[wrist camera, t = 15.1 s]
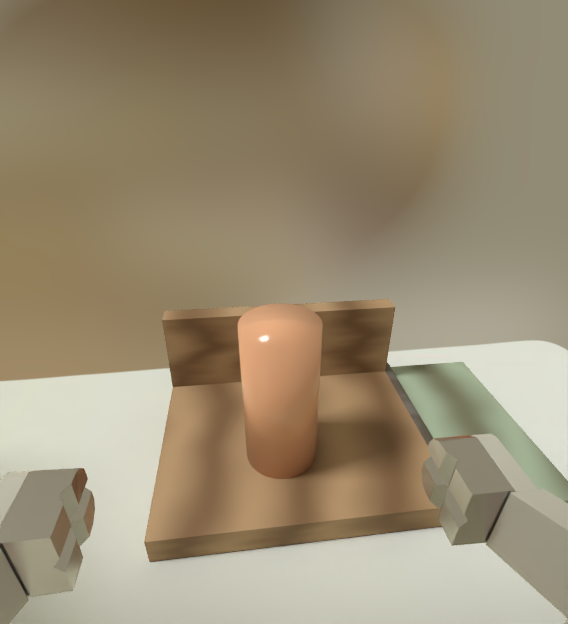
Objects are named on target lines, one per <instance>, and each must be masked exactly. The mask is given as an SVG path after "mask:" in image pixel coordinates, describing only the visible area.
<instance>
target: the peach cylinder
mask: <svg viewBox="0 0 568 624" xmlns="http://www.w3.org/2000/svg"><path fill="white" fill-rule="evenodd" d="M322 327H323V325H322V320H321V318H320V317H319V316H318V315H317V314H316V313H315V312H313V311H312V310H310V309H307V308H305V307H302V306H298V305H293V304H268V305H263V306H259V307H256V308H254V309H251V310H249V311H248V312H246V313H245V314H244V315H242V317H241V318H240V319H239V321H238V340H239V354H240V368H241V382H242V396H243V410H244V423H245V437H246V451H247V458H248V461H249V463H250V464H251V466H252V467H253V468H254V469H255V470H256V471H257V472H259V473H260V474H262V475H264V476H267V477H270V478H274V479H288V478H293V477H296V476H298V475H300V474H302V473H304V472H305V471H306V470H308V469H309V467H310V466H311V465H312V464H313V462H314V460H315V457H316V446H317V426H318V406H319V386H320V366H321V347H322Z"/></svg>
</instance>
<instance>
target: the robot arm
mask: <svg viewBox="0 0 568 624" xmlns="http://www.w3.org/2000/svg"><path fill="white" fill-rule="evenodd" d="M427 450H428V452H429V453H430V455H431V456H430V457H429V458H428V459H426V460H425V461H424V463H423V467H422V471H421V473H422V483H423V487H424V490H425V493H426V495H427V497H428V499H429V501H430V502H431V503H432V504H434V505H435V506H436V507H438V508H439V509H440V512H439V517H438V519H439V521H440V523H441V525H442V527H443V529H444V531H445V533H446V535H447V537H448V539H449V541H450V543H451V545H452V546H453V545H464V544H476V543H487V544H486V545H487V546H488V547H489V548H490V549H492V550H493V551H494V552H495V553H496V554H497V555H498V556H499V557H500V558H502V559H503V560H504V561H505V562H506V563H507V564H508V565H509V566H510V567H512V568H513V569H514V570H515V571H516V572H517V573H518V574H519V575H520V576H521V577H523V578H524V579H525V580H526V581H527V582H528V583H529V584H530V585H531V586H533V587H534V588H535V589H536V590H537V591H538V592H539V593H540V594H541V595H543V596H544V597H545V598H546V599H547V600H548V601H549V602H550V603H551V604H552V605H554V606H555V607H556V608H557V609H558V610H559V611H560V612H561V613H562V614H564V615H565V616H566V617H567V618H568V503H566V502H565V501H563V500H561V499H560V498H558V497H556V496H555V495H553V494H552V493H550V492H548V491H547V490H545V489H537V487H536V486H535V485H534V484H533V482H532V481H531V480H530V479H529V477H528V476H527V475H526V473H525V472H524V471H523V470H522V468H521V467H520V466H519V465H518V463H517V462H516V461H515V460H514V458H513V457H512V456H511V454H510V453H509V452H508V451H507V449H506V448H505V447H504V446H503V444H502V443H501V442H500V441H499V439H498V438H497V437H496V436H494V435H493V434H480V435H471V436H470V435H465V436H454V437H444V438H434V439H432V440H431V441H430V442H429V446H428V449H427ZM87 479H88V478H87V475H86V473H85V470H84V469H83V468H76V469H58V470H41V471H27V472H12V473H7V474H6V475H5V476H3V477H2V478H1V479H0V624H9V623H10V622H11V620H12V619H13V618H14V617H15V616H16V614H17V613H18V612H19V611H20V610H21V608H22V607H23V606H24V605H25V604H26V602H27V601H28V598H27V597H34V596H40V595H47V594H54V593H61V592H67V591H73V589H74V585H75V582H76V579H77V576H78V572H79V569H80V566H81V563H82V559H83V556H82V553H81V550H80V546H81V545H82V544H83V543H84V542H85V541H86V539H87V538H88V537H89V536H90V533H91V529H92V525H93V520H94V511H95V506H94V498H93V494H92V492H91V491H90V490H88V489H87V488H85V485H86V482H87ZM564 624H568V619H567V621H566V622H565V623H564Z"/></svg>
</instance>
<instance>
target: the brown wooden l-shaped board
mask: <svg viewBox="0 0 568 624" xmlns="http://www.w3.org/2000/svg"><path fill="white" fill-rule="evenodd" d="M293 305H298V306H302V307H305V308H307V309H310V310H312V311H313V312H315V313H316V314H317V315H318V316H319V317H320V318H321V320H322V325H323V327H322V347H321V366H320V386H319V406H318V426H317V446H316V457H315V460H314V462H313V464H312V465H311V466H310V467H309V469H308V470H306V471H305V472H304V473H302V474H300V475H298V476H296V477H293V478H288V479H274V478H270V477H267V476H264V475H262V474H260V473H259V472H257V471H256V470H255V469H254V468H253V467H252V466H251V464H250V463H249V461H248V458H247V451H246V437H245V423H244V410H243V396H242V382H241V368H240V354H239V340H238V321H239V319H240V318H241V317H242V315H244V314H245V313H246V312H248V311H249V310H251V309H254V308H256V307H259V306H250V307H232V308H212V309H193V310H175V311H165V312H164V315H163V319H162V323H163V328H164V335H165V341H166V347H167V353H168V359H169V366H170V372H171V378H172V384H173V390H172V395H171V401H170V406H169V411H168V417H167V422H166V428H165V433H164V438H163V444H162V449H161V455H160V460H159V466H158V471H157V476H156V482H155V487H154V493H153V498H152V503H151V509H150V514H149V520H148V525H147V531H146V536H145V541H144V543H145V547H146V550H147V554H148V558H149V561H150V562H152V561H160V560H168V559H176V558H184V557H193V556H201V555H209V554H217V553H225V552H234V551H242V550H250V549H258V548H267V547H275V546H283V545H291V544H299V543H308V542H316V541H324V540H332V539H340V538H349V537H357V536H365V535H373V534H381V533H390V532H398V531H406V530H414V529H423V528H431V527H439V526H442V525H441V523H440V521H439V519H438V517H439V512H440V509H439V508H438V507H436V506H435V505H434V504H432V503H431V502H430V501H429V499H428V497H427V495H426V493H425V490H424V487H423V483H422V473H421V471H422V467H423V463H424V461H425V460H426V459H428V458H429V457H430V456H431V455H430V453H429V452H428V450H427V449H428V446H429V442H430V441H431V440H432V439H434V438H444V437H454V436H465V435H470V436H471V435H480V434H493V435H494V436H496V437H497V438H498V439H499V441H500V442H501V443H502V444H503V446H504V447H505V448H506V449H507V451H508V452H509V453H510V454H511V456H512V457H513V458H514V460H515V461H516V462H517V463H518V465H519V466H520V467H521V468H522V470H523V471H524V472H525V473H526V475H527V476H528V477H529V479H530V480H531V481H532V482H533V484H534V485H535V486H536V487H537V489H545V490H547V491H548V492H550V493H552V494H553V495H555V496H556V497H558V498H560V499H561V500H563V501H565V502H566V503H568V481H567V480H566V479H565V477H564V476H563V475H562V474H561V473H560V472H559V471H558V470H557V468H556V467H555V466H554V465H553V464H552V463H551V462H550V460H549V459H548V458H547V457H546V456H545V455H544V454H543V453H542V451H541V450H540V449H539V448H538V447H537V446H536V445H535V443H534V442H533V441H532V440H531V439H530V438H529V437H528V436H527V434H526V433H525V432H524V431H523V430H522V429H521V428H520V426H519V425H518V424H517V423H516V422H515V421H514V420H513V419H512V417H511V416H510V415H509V414H508V413H507V412H506V411H505V409H504V408H503V407H502V406H501V405H500V404H499V403H498V402H497V400H496V399H495V398H494V397H493V396H492V395H491V394H490V392H489V391H488V390H487V389H486V388H485V387H484V386H483V385H482V383H481V382H480V381H479V380H478V379H477V378H476V377H475V375H474V374H473V373H472V372H471V371H470V370H469V369H468V368H467V366H466V365H465V364H464V363H463V362H455V363H441V364H428V365H414V366H400V367H390V365H389V364H388V363H387V356H388V349H389V343H390V337H391V330H392V324H393V317H394V311H395V306H394V305H393V304H392V303H391V301H390V300H389V299H380V300H362V301H343V302H325V303H306V304H293Z"/></svg>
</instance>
